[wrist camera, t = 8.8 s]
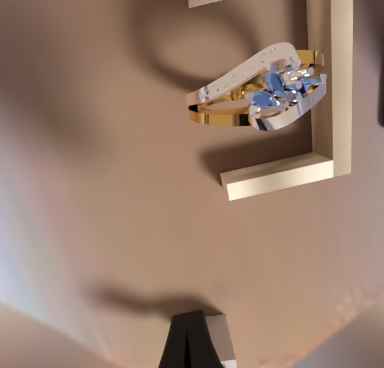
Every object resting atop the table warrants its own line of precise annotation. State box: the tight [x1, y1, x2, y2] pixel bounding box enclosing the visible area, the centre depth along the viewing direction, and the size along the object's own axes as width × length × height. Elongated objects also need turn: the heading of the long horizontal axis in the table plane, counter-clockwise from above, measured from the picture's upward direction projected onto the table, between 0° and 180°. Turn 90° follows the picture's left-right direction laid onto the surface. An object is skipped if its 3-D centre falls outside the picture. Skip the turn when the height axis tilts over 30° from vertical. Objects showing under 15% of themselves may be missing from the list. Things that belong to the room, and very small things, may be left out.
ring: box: [186, 43, 327, 131], centre depth 13 cm, size 7×3×8 cm, turn 98°
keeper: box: [188, 0, 353, 201], centre depth 15 cm, size 8×13×2 cm, turn 13°
